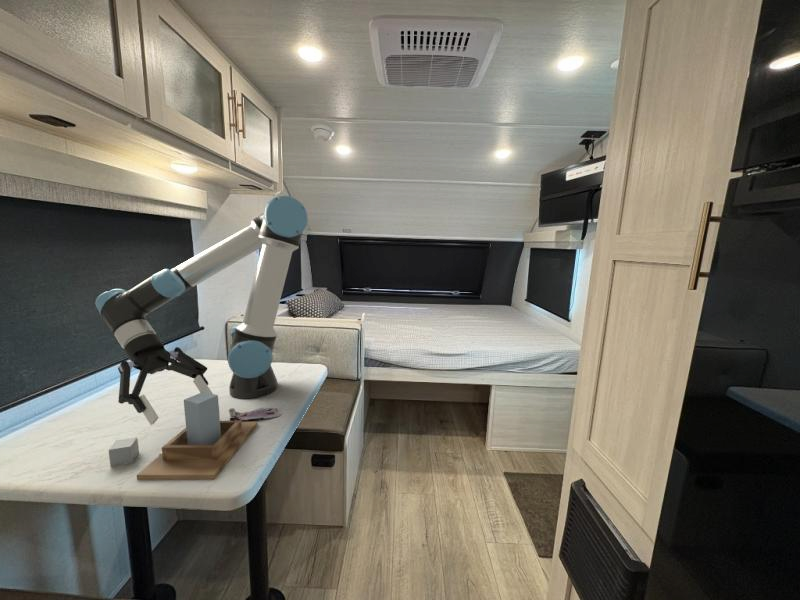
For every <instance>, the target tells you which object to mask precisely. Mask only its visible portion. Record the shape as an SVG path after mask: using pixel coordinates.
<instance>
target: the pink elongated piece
mask: <svg viewBox="0 0 800 600" xmlns="http://www.w3.org/2000/svg"><path fill="white" fill-rule="evenodd" d="M228 413H229V421H249V420H255V419H261V418H263V419H272V418H274V419H275V418H276V419H277V418H279V417H280V416H281V415H282V412H278V408H277V407H260V408H257V409H254V410H250V411H244V412H238V411H236V409H235V408H234V407H231V408H229V409H228Z"/></svg>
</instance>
